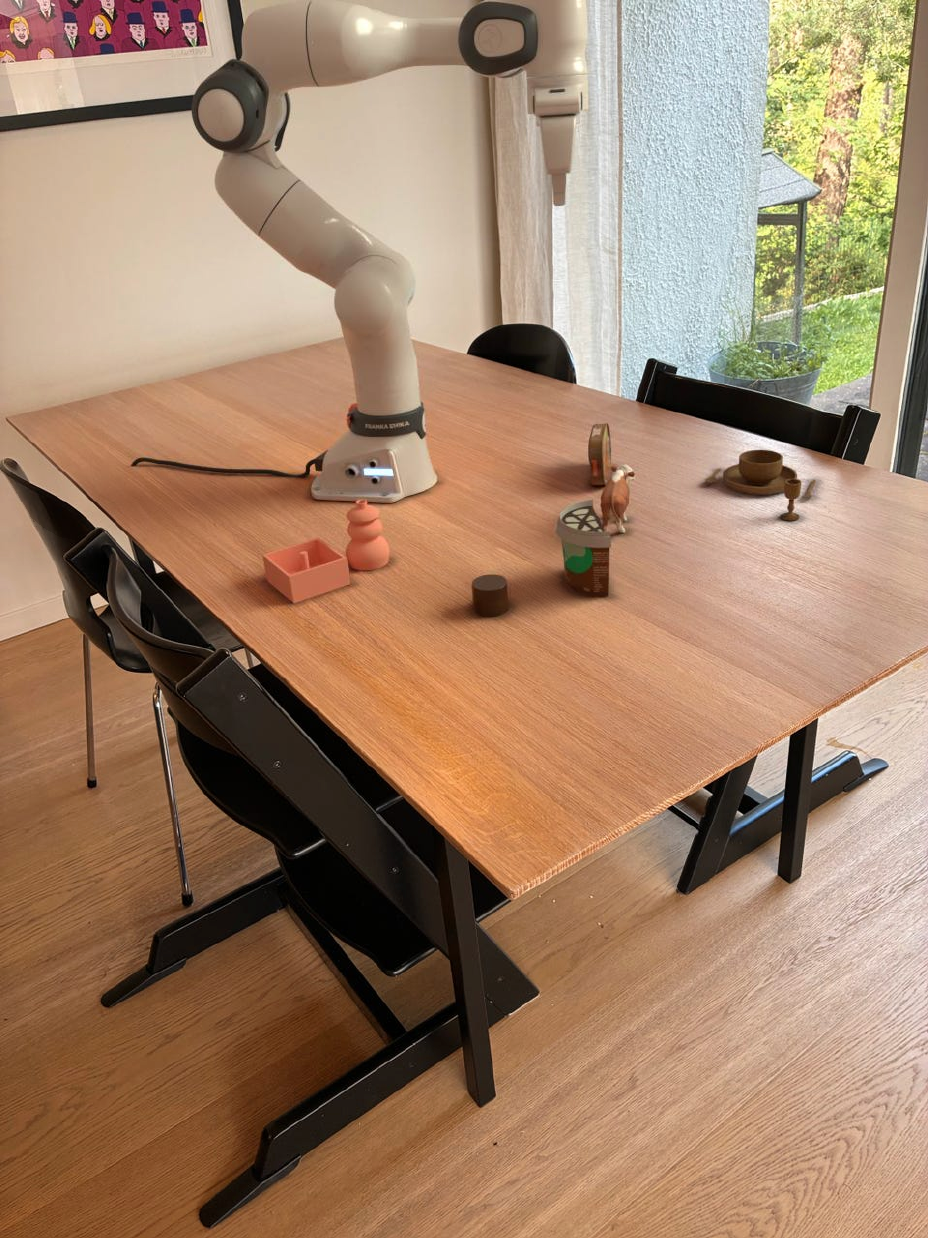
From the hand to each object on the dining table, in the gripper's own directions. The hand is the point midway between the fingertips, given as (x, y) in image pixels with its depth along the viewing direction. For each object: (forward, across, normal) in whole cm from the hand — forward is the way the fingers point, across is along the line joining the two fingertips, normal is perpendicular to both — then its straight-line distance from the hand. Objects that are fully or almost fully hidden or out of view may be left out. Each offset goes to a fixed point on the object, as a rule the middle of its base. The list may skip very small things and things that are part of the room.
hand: (559, 201), depth 151 cm
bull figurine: (+46, +18, +8) cm, 50 cm away
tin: (+46, -3, +6) cm, 46 cm away
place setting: (+46, +7, +31) cm, 56 cm away
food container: (+46, +38, +2) cm, 60 cm away
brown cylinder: (+46, +45, -10) cm, 65 cm away
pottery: (+46, +33, -34) cm, 66 cm away
